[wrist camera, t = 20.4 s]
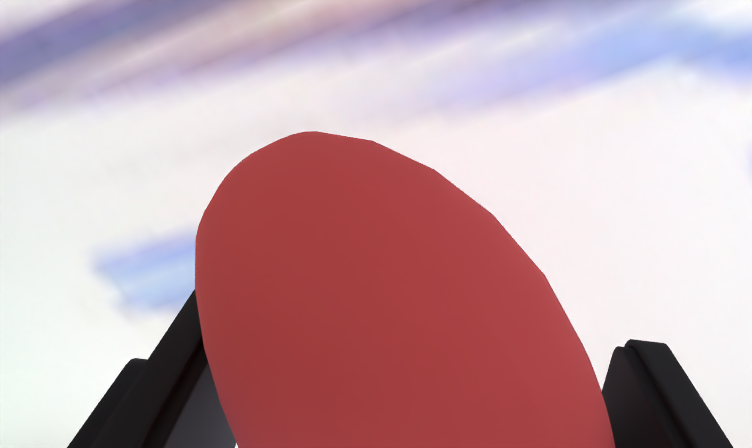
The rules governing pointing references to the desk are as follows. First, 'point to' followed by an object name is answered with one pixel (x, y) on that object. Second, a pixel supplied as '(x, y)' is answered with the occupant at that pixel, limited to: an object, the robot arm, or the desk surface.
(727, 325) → the desk surface
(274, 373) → the red kidney bean
